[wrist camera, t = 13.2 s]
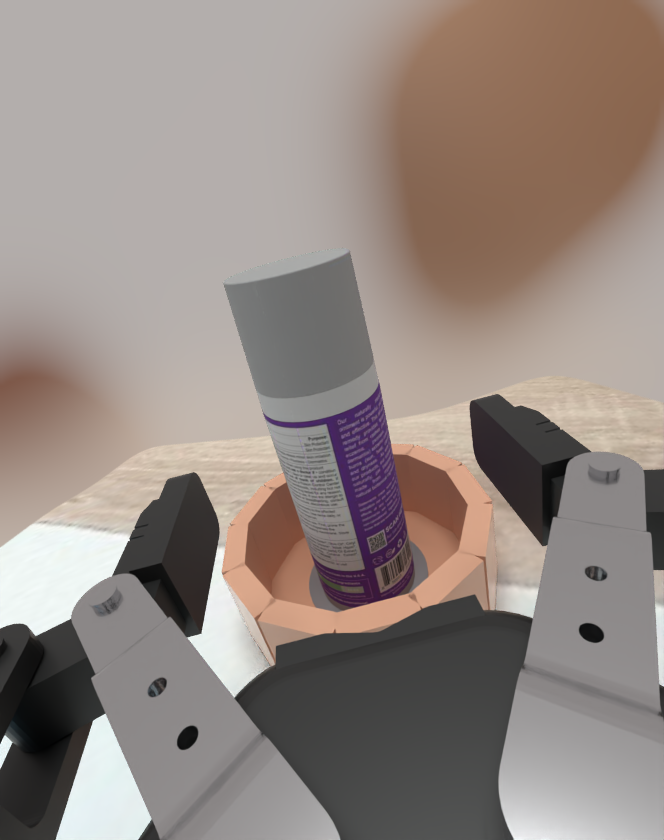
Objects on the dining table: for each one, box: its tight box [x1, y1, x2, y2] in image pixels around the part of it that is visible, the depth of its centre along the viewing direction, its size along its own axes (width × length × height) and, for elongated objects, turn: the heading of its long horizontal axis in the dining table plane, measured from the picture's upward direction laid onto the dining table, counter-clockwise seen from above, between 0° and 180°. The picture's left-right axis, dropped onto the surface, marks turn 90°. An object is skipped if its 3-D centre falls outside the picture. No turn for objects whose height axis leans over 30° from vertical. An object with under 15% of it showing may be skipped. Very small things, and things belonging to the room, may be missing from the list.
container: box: [224, 248, 415, 611], centre depth 18 cm, size 5×5×15 cm
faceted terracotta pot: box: [222, 444, 498, 666], centre depth 21 cm, size 12×12×5 cm
